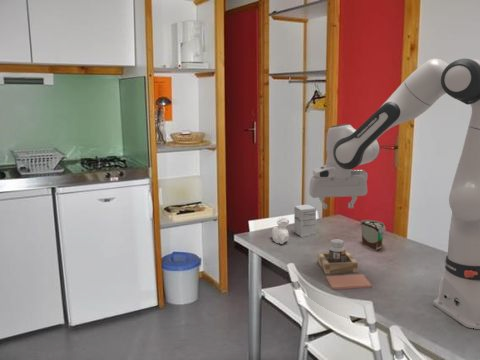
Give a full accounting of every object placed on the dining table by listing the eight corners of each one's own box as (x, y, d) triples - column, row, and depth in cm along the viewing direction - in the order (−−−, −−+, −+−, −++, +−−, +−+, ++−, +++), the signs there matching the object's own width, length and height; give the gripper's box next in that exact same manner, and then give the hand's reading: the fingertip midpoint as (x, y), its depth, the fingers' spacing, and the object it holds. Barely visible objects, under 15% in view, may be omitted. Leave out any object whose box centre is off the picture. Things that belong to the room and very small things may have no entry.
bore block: (357, 272, 167) (357, 263, 166) (325, 274, 166) (325, 264, 165) (348, 260, 178) (348, 251, 177) (317, 261, 177) (317, 253, 177)
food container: (391, 250, 187) (392, 226, 185) (378, 252, 185) (379, 228, 183) (372, 240, 199) (372, 218, 196) (359, 243, 196) (360, 220, 194)
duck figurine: (287, 250, 196) (302, 227, 197) (274, 242, 193) (289, 219, 194) (275, 241, 207) (289, 220, 208) (262, 233, 204) (276, 212, 205)
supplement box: (293, 232, 212) (293, 205, 210) (308, 230, 214) (308, 203, 212) (300, 237, 205) (300, 209, 203) (316, 235, 208) (316, 207, 205)
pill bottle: (345, 270, 169) (345, 244, 167) (329, 269, 170) (329, 243, 168) (345, 264, 174) (345, 238, 172) (329, 263, 175) (329, 238, 173)
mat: (371, 287, 154) (371, 285, 154) (332, 289, 154) (332, 287, 153) (362, 276, 163) (362, 274, 163) (325, 278, 162) (325, 276, 162)
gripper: (364, 167, 168) (363, 205, 171) (308, 169, 167) (308, 207, 170) (370, 171, 162) (369, 209, 165) (312, 173, 161) (311, 212, 164)
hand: (337, 208), depth 168 cm, fingers open, 8 cm apart
